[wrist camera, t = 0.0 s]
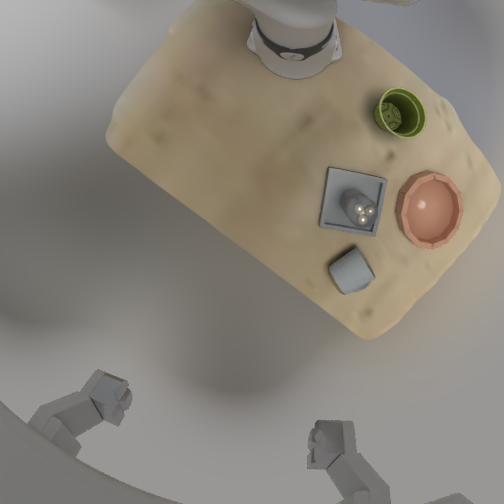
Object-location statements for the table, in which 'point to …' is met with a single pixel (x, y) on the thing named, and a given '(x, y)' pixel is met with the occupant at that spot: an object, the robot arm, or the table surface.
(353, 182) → the parts tray
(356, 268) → the ceramic mug
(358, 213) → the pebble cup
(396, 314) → the table surface
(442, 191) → the terracotta bowl
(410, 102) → the plant pot
